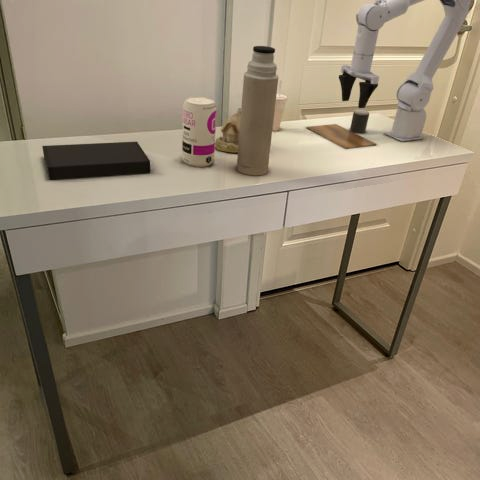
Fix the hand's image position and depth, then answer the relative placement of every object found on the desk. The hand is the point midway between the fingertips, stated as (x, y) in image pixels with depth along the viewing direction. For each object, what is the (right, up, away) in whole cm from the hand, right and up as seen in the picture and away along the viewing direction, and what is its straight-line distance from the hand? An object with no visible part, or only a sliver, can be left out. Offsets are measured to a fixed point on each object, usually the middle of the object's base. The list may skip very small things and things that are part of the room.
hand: (353, 104), depth 150 cm
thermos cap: (+4, -3, +13) cm, 14 cm away
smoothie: (-24, -5, +7) cm, 25 cm away
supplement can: (-45, -24, -21) cm, 55 cm away
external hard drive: (-69, -27, -28) cm, 79 cm away
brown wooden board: (-3, -7, +6) cm, 10 cm away
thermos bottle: (-31, -26, -22) cm, 46 cm away
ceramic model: (-35, -16, -8) cm, 39 cm away
